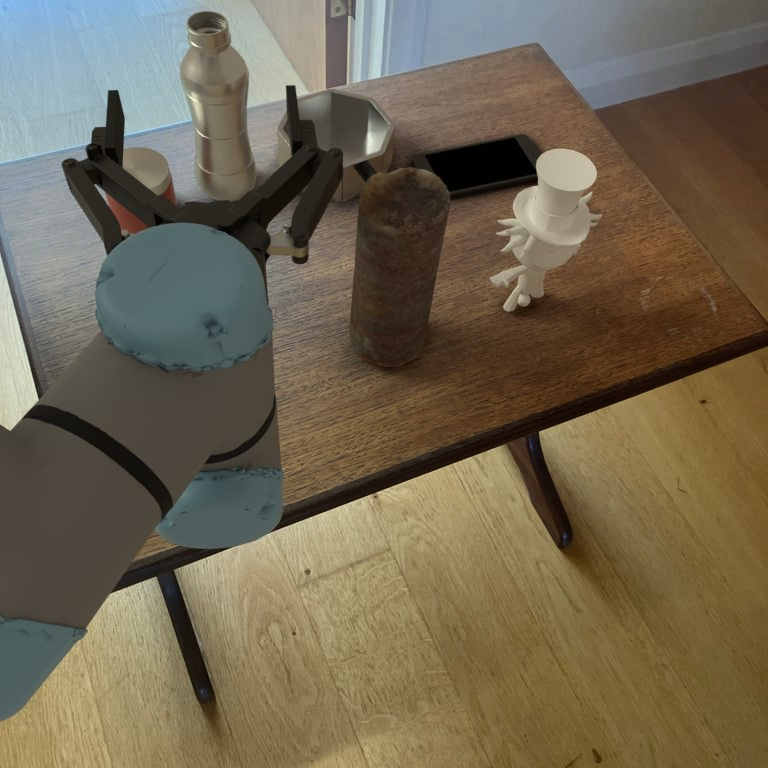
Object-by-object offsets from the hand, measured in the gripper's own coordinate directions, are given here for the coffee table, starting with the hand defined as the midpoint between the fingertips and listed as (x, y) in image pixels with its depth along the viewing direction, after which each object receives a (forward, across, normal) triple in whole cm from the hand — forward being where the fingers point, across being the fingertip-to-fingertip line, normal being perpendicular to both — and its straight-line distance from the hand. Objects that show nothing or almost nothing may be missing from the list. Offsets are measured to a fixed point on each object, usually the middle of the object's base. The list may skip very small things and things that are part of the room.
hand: (205, 101), depth 65 cm
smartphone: (+14, +29, -21) cm, 39 cm away
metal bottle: (+13, 0, -22) cm, 25 cm away
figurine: (-6, +29, -21) cm, 37 cm away
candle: (-10, +15, -22) cm, 28 cm away
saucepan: (+13, +14, -21) cm, 29 cm away
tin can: (+9, -8, -22) cm, 25 cm away
